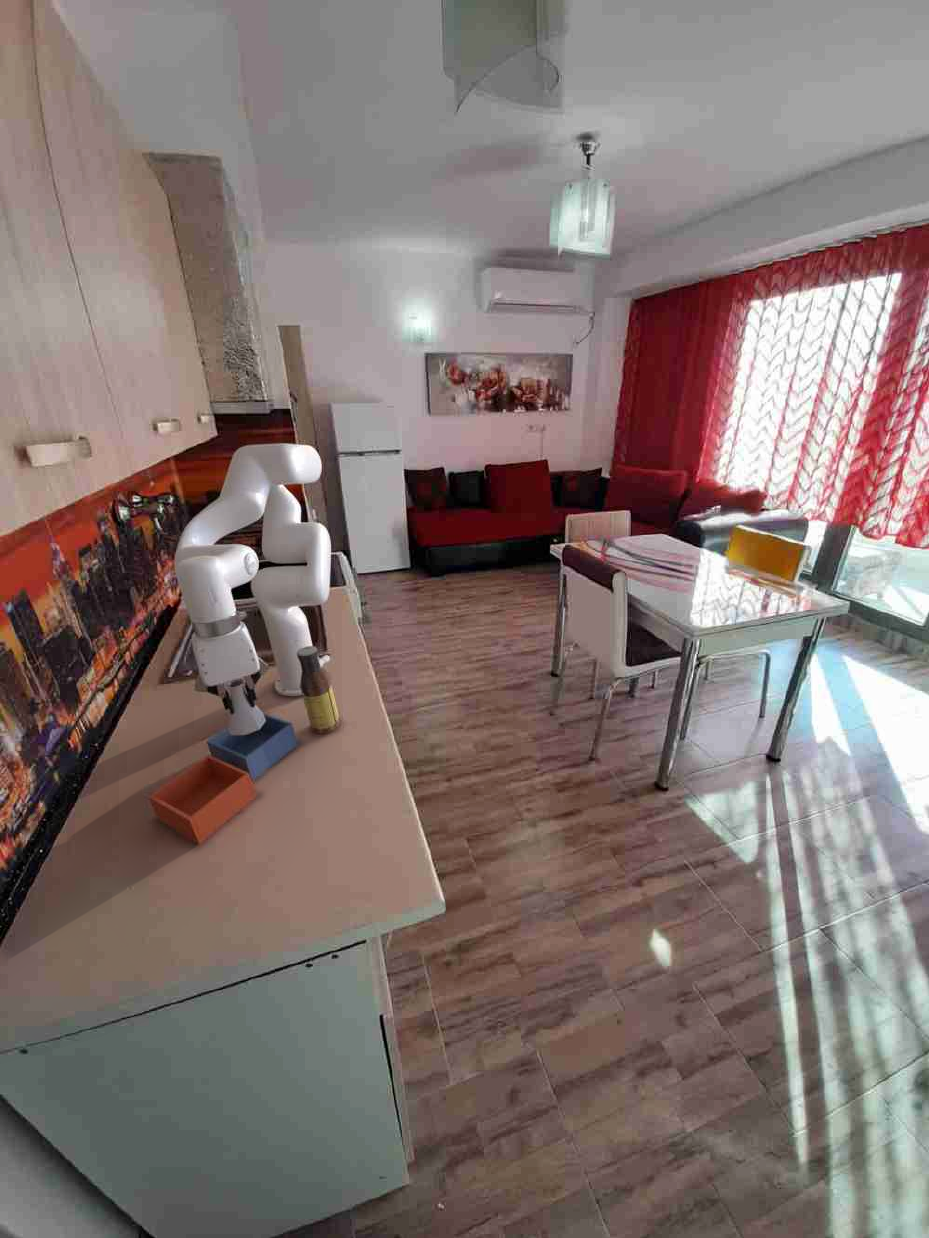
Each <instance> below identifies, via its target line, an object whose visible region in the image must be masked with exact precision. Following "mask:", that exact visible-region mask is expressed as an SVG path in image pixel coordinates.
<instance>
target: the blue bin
mask: <svg viewBox="0 0 929 1238" xmlns="http://www.w3.org/2000/svg"><path fill="white" fill-rule="evenodd" d="M262 713H263V715H264V717H265V719H266V721H265V723H264V724H263V726H262V727H261V729H260V730H257V731H254V732H252V733H249V734H246V735H231V734H230V732H229V729H228V727H226V728H225V729H222V731H220V732H218V733H217V734H215V735H214V736H213V737H211V738H210V739H209V740H207V741H206V745H207V747H208V750H209V752H210V756H212V757H215V758H217V759H219V760H221V761H223V762H226V763H228V764H230V765H232V766H234V767H236V768H239V769H241V770H243V771H245V772H247V773H249V774H250V777H251V780H252V782H254V780H256V779H257V778H258V777H259V776H261V775H262V774H264V773H265V772H266V771H268V769H269V768H271V767H272V766H273V765H275V764H276V763H277V762H278V761H279V760H281V759H282V758H283V757H284V756H286V755H287V754H288V753H289V752H290V751H292V750H293V749H294V748H296V747H297V746H298V744H299V743H298V741H297V737H296V733H295V729H294V725H293V723H292V722H290V721H287V720H285V719H281V718H278V717H275V716H273V715H271V714H267V713H265V712H262Z"/></svg>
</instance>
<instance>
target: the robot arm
mask: <svg viewBox="0 0 929 1238" xmlns="http://www.w3.org/2000/svg"><path fill="white" fill-rule="evenodd" d="M322 463H323V462H322V459H321V457H320V454H319V453H318V451H317V450H316V449H315V448H314V447H313V446H311V445H309V444H295V443H285V442H284V443H283V442H281V443H264V444H262V443H261V444H248V445H243V446H241V447H238V449H236V451H234V453H233V455H232V458H231V460H230V464H229V467H228V470H227V472H226V476H225V479H224V481H223V484H222V488H221V491H220V494H219V496H218V497H217V499H215V500H214V501H212V502H211V503H209V504H208V505H207V506H206V507H205V508H203V509H202V510H201V511H199V513H197V514H196V515H195V516H194V517H192V519H191V520H189V522H188V523H187V524H186V526H185V527H184V529H183V531H182V533H181V535H180V538H179V541H178V544H177V547H176V550H175V554H174V562H173V563H174V573H175V577H176V580H177V583H178V586H179V589H180V592H181V596H182V598H183V601H184V605H185V607H186V610H187V613H188V616H189V619H190V623H191V625H192V628H193V631H194V632H193V633H192V634H191V644H192V652H193V655H194V658H195V662H196V667H197V669H198V673H197V676H196V680H195V683H194V690H195V692H201V693H208V694H211V695H213V696H217V697H218V698H219V699H221V702H222V704H223V708H224V710H225V711H227V710H229V714H230V713H231V714H234V713H235V712H234V709H233V706H232V702H231V695H230V692H229V690H228V689H227V688H226V687H225V683H229V682H230V681H233V680H236V679H243V680H244V681H245V682H244V690H245V692H246V694H247V695H248V698H249V701H250V704H251V707H255V705H256V704H255V701H258V697H257V694H256V690H255V687H256V685H257V683H258V681H259V680H260V679H261V677H262V676H263V675H265V674H266V673H267V672H268V671H269V670H270V666H269V664H268V663H267V662H266V661H265V660H264V659H262V658H261V657H260V656H259V655H258V654H257V652H256V648H255V645H254V642H253V639H252V637H251V634H250V632H249V629H248V627H247V626H246V624H245V622H243V621H242V620H244V619H247V618H248V615H247V612H246V611H245V610H244V611H241V610H240V611H239V610H238V609H237V607H236V605H235V600H234V597H233V594H232V589H234V588H237V587H240V586H242V585H244V584H245V585H246V584H247V583H249V582H250V589H251V594H252V596H253V598H254V600H255V602H256V604H257V606H258V608H259V610H260V613H261V615H262V618H263V621H264V624H265V628H266V632H267V635H268V640H269V644H270V647H271V652H272V655H273V660H274V663H275V667H276V670H277V674H278V678H277V679H276V681H275V682H274V689H275V691H276V693H277V694H279V695H281V696H285V697H298V696H302V692H301V688H300V683H301V675H302V670H301V664H300V660H299V659H298V656H297V652H298V650H299V649H301V648H304V647H307V646H313V642H312V637H311V632H310V628H309V623H308V620H307V616H306V615H305V613H304V612H303V610H302V609H301V608H300V607H314V606H315V607H317V606H321V605H323V604H325V603H326V602H327V601H328V599H329V596H330V589H331V588H330V586H331V566H332V565H331V563H332V543H331V536H330V533H329V532H328V529H327V528H326V527H325V526H324V525H323V524H322V523H320V522H315V521H307V522H306V521H305V522H304V521H303V522H302V507H301V504H300V503H299V501H298V499H297V498H296V497H295V496H294V495H293V493H291V492H290V491H289V490H288V489H287V487H286V486H287V485H305V484H313V483H316V482H317V481H318V480H319V479H320V477H321V474H322V469H323V465H322ZM262 517H263V522H262V533H261V534H262V536H261V552H262V555H263V557H264V559H266V561H268V562H271V563H274V564H299V563H300V564H301V563H307V565H283V566H280V565H279V566H270V567H263V568H262V569H259V566H260V565H259V563H260V561H259V558H258V557H259V556H258V555H257V553H256V551H255V550H254V549H253V548H251V547H250V546H248V545H244V544H240V543H230V544H216V543H217V542H218V541H219V540H220V539H222V538H223V537H225V536H227V535H229V534H231V533H234V532H236V531H238V530H241V529H243V528H246V527H248V526H249V525H251V524H254V523H255V522H257V521H259V520H260V519H262ZM318 659H319V663H320V667H321V668H323V665H325V664H327V663H329V662H330V661H331V657H330V656H329V655H328V654H325V655H323V656H322V657H319V656H318Z"/></svg>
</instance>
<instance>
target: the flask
mask: <svg viewBox="0 0 929 1238" xmlns="http://www.w3.org/2000/svg"><path fill="white" fill-rule="evenodd" d="M244 681H245V680H244V678H239V679H236V680H233V681H229V682H227V684H226V690H227V691H228V692H229V696H230V699H231V702H232V706H233V709H234V712H235V713H234V714H231V713H230V712H229V719H228V727H227V728H228V729H229V732H230V734H231V735H246V734H249V733H252V732H254V731H257V730H260V729H261V727H262V726H263V724H264V723H265V721H266V719H265V717H264V715H263V713H264V712H262V711H261V709H260V708H259V707H258V705H256V704H255V707H251V704H250V701H249V698H248V695H247V692H246V689H245V682H244Z"/></svg>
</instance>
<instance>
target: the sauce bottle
mask: <svg viewBox="0 0 929 1238" xmlns="http://www.w3.org/2000/svg"><path fill="white" fill-rule="evenodd" d="M297 656H298V659H299V660H300V664H301V670H302V675H301V683H300V688H301V692H302V695H301V696H302V699H303V704H304V706H305V710H306V714H307V717H308V722H309V724H310V727H311V728H312V730H313V731H314V732H315V733H318V734H327V733H328V734H329V733H330V732H332V731H334V730H335V729H337V728H338V726H339V724H340V717H339V711H338V708H337V703H336V699H335V695H334V690H333V688H332V683H331V681H330V676H329V674H328V672H327V671H326V669H324V668H323V667H322V668H321V667H320V663H319V659H320V658H319V659H318V657H319V651H318V648H317V647H316V646H313V645H312V646H307V647H304V648H301V649H299V650H298V652H297Z"/></svg>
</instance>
